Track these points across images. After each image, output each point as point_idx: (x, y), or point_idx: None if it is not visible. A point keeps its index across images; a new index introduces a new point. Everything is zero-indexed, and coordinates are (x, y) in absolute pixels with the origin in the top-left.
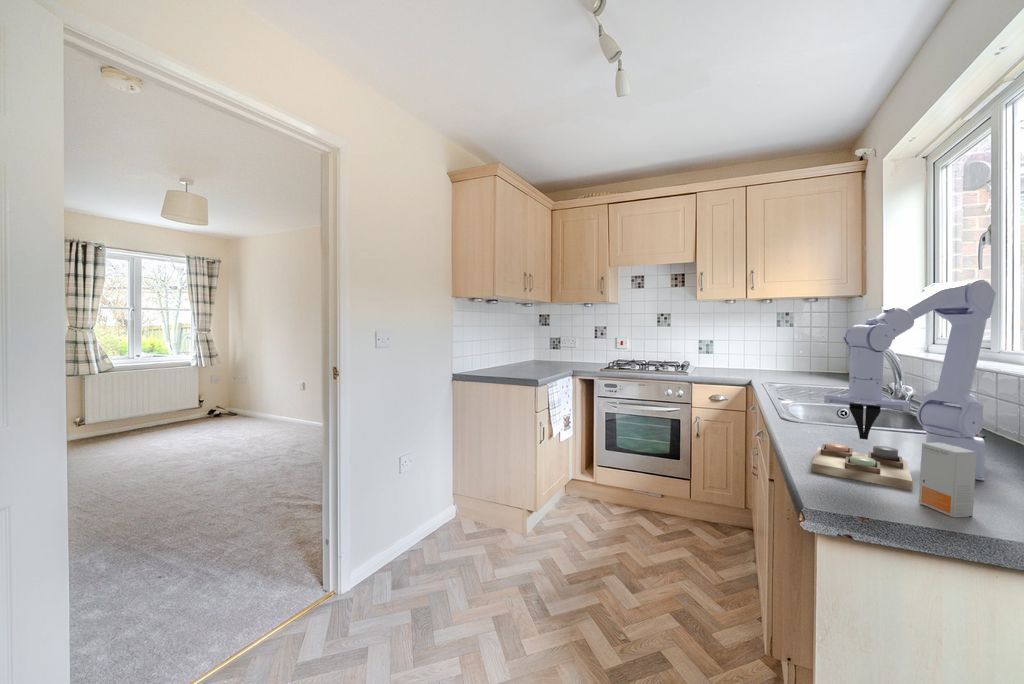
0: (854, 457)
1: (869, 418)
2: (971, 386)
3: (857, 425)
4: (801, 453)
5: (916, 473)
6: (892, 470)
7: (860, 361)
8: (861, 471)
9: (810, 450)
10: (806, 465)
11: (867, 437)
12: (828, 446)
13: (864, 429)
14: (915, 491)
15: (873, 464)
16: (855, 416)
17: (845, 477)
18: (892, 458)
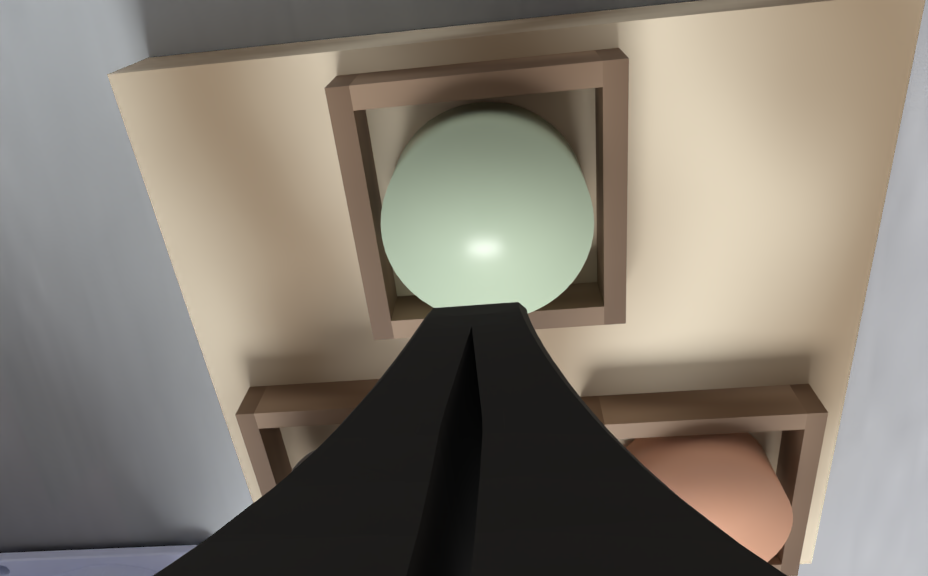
0: (556, 232)
1: (316, 542)
2: None
3: (581, 405)
4: (904, 468)
5: (235, 484)
6: (292, 288)
7: None
8: (479, 52)
9: (831, 568)
10: (902, 165)
11: (424, 319)
12: (773, 478)
13: (466, 429)
14: (126, 53)
15: (392, 176)
16: (677, 546)
17: (597, 11)
18: (307, 457)
